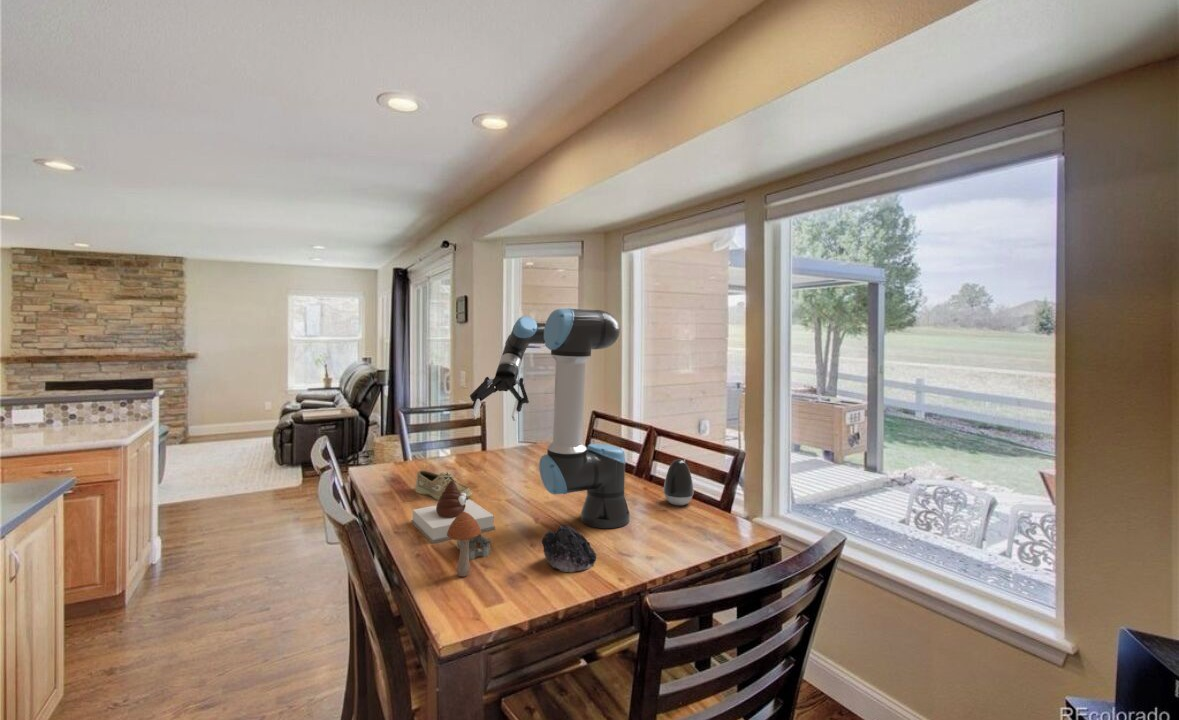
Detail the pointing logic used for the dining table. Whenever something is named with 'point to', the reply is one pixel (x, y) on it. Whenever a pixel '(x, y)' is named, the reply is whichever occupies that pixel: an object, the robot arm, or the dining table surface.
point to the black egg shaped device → (678, 483)
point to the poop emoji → (451, 501)
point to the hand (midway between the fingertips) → (493, 417)
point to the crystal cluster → (568, 550)
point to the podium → (448, 521)
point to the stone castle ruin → (472, 546)
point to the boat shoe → (436, 484)
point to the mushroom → (463, 538)
